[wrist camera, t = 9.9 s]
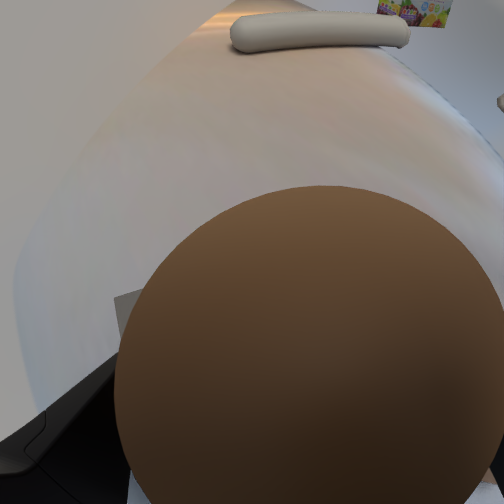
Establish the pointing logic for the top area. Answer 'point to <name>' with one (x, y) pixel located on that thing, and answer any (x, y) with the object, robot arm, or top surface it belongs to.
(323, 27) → the tube
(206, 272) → the tall pin
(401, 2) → the snack box
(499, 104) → the flask
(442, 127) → the top surface
